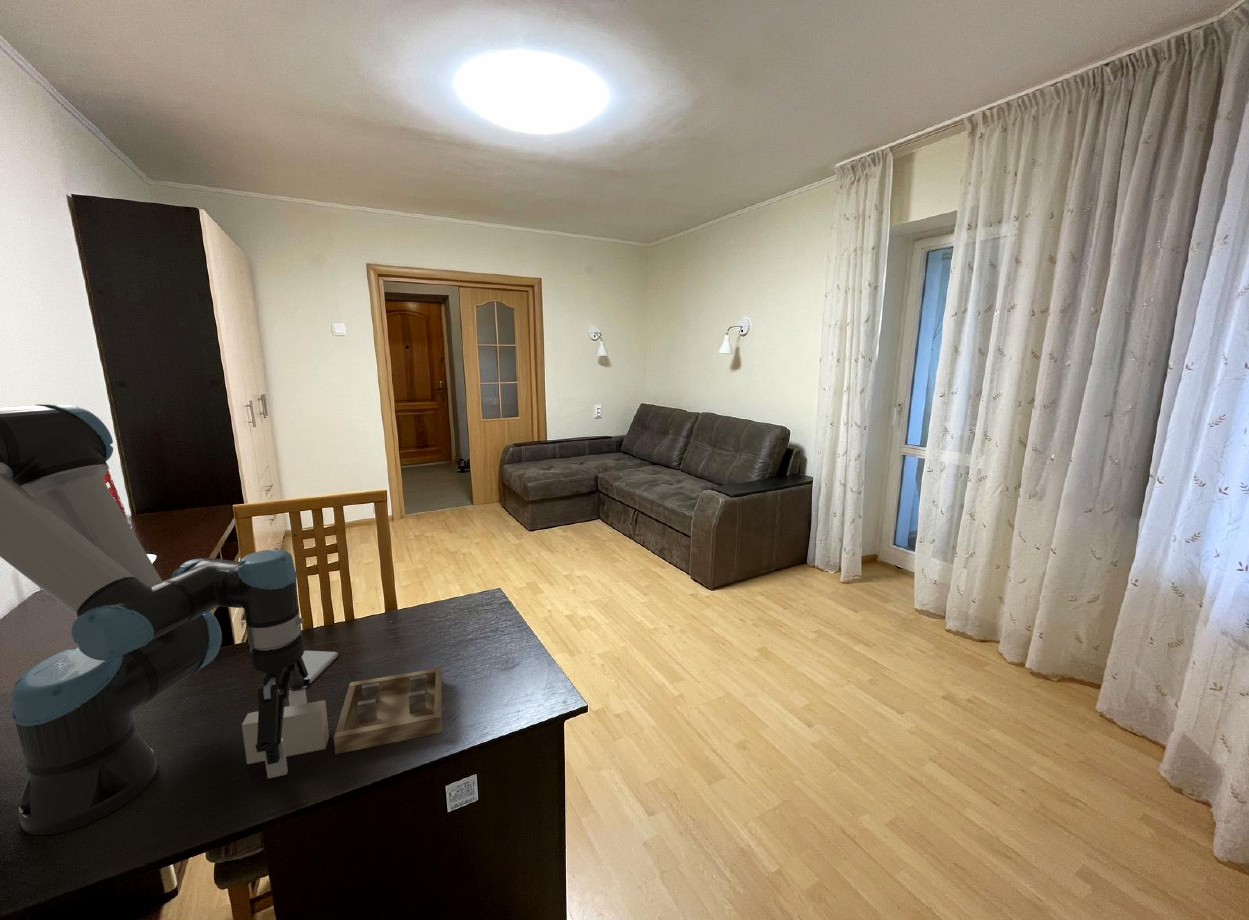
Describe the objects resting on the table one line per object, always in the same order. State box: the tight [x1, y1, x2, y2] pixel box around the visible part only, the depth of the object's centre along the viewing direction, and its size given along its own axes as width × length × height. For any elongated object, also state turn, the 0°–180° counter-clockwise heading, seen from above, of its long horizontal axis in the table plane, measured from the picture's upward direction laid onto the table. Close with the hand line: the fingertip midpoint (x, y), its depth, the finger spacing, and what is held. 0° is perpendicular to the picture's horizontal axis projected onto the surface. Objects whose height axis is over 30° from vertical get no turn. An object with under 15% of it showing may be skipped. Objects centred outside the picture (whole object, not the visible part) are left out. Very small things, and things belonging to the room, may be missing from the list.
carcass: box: [333, 667, 443, 755], centre depth 99 cm, size 18×16×5 cm
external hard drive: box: [289, 650, 339, 690], centre depth 112 cm, size 2×8×12 cm
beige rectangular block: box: [241, 699, 330, 765], centre depth 89 cm, size 12×3×8 cm, turn 109°
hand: (289, 745), depth 90 cm, fingers open, 13 cm apart
